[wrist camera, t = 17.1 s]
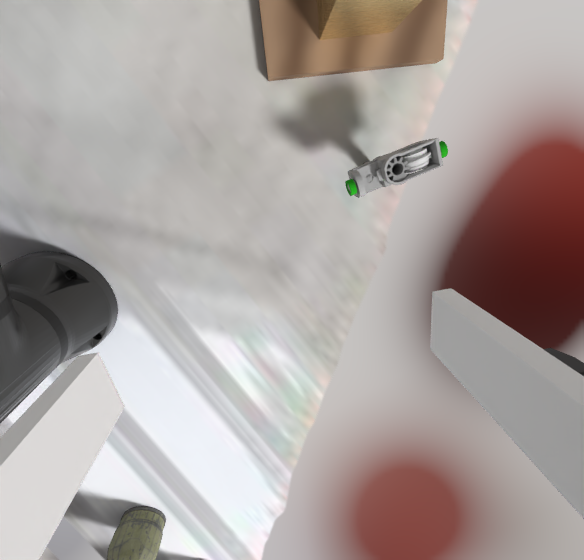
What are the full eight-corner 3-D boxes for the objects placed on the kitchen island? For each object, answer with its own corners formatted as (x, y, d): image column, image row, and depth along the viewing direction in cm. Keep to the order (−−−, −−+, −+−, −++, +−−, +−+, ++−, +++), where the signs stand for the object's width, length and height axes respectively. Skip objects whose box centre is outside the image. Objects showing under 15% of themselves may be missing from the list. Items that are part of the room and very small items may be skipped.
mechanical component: (327, 171, 38) (346, 174, 29) (402, 140, 38) (446, 132, 28) (334, 193, 40) (355, 203, 30) (407, 163, 39) (451, 163, 30)
